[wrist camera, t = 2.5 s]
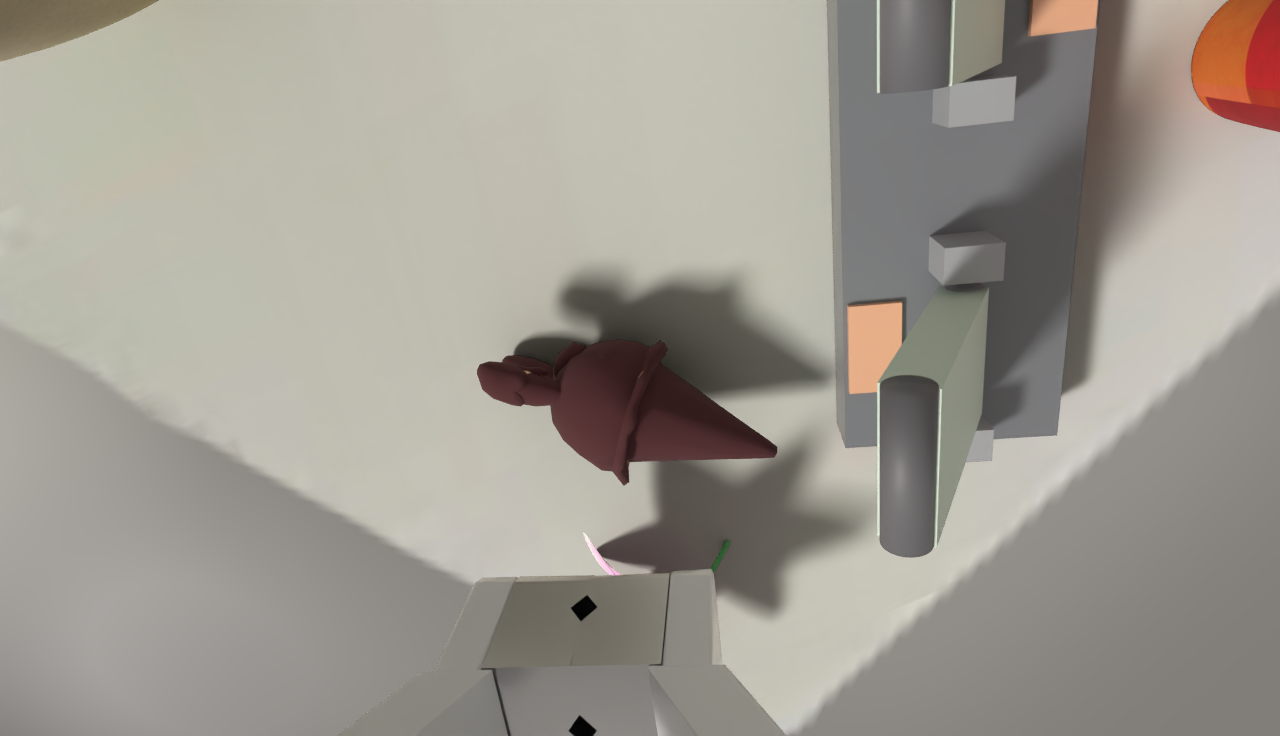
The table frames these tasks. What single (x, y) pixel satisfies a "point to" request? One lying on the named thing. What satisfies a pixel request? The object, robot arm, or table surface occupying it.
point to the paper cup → (1241, 63)
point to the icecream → (623, 406)
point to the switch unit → (960, 209)
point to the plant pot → (56, 21)
